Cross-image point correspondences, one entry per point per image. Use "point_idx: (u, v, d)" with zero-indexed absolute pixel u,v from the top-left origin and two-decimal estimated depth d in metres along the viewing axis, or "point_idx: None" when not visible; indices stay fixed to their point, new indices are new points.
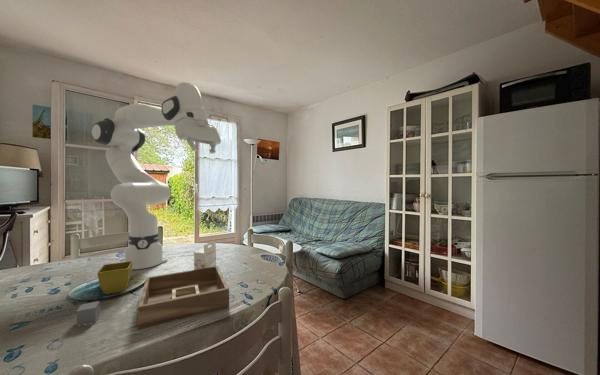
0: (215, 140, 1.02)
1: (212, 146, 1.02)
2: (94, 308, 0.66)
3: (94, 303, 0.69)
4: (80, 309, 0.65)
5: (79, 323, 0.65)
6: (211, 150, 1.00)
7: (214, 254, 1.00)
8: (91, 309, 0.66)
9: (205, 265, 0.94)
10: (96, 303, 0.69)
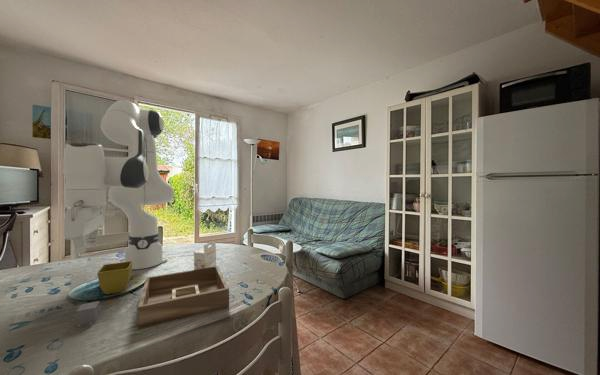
0: None
1: None
2: (94, 308, 0.66)
3: (94, 303, 0.69)
4: (80, 309, 0.65)
5: (79, 323, 0.65)
6: None
7: (214, 254, 1.00)
8: (91, 309, 0.66)
9: (205, 265, 0.94)
10: (96, 303, 0.69)
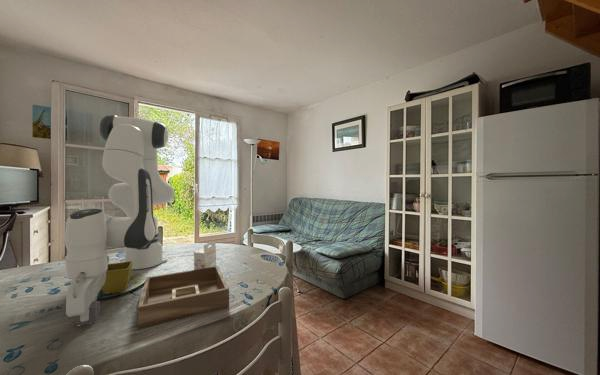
0: None
1: None
2: (94, 308, 0.66)
3: (94, 303, 0.69)
4: None
5: (79, 323, 0.65)
6: None
7: (214, 254, 1.00)
8: (91, 309, 0.66)
9: (205, 265, 0.94)
10: (96, 303, 0.69)
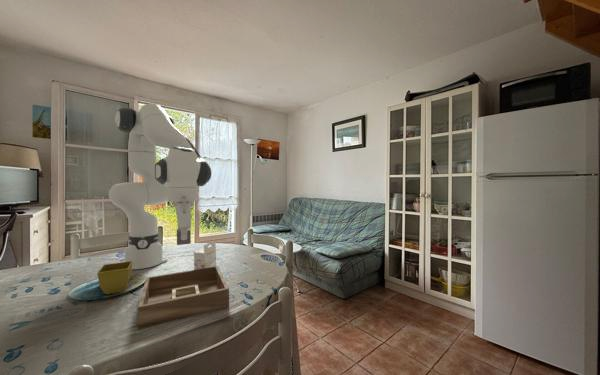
0: (177, 225, 0.72)
1: None
2: (189, 231, 0.77)
3: None
4: (179, 230, 0.76)
5: (178, 242, 0.76)
6: None
7: (214, 254, 1.00)
8: (187, 231, 0.77)
9: (206, 265, 0.94)
10: None
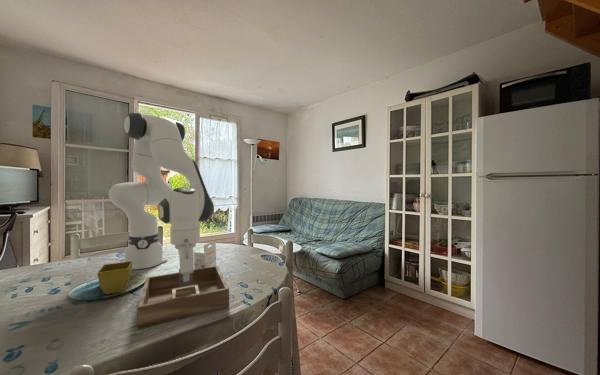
0: None
1: None
2: None
3: None
4: None
5: (181, 283, 0.76)
6: None
7: (214, 254, 1.00)
8: None
9: (206, 265, 0.94)
10: None
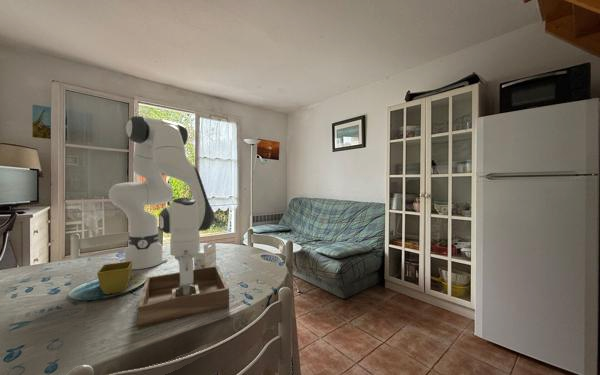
0: None
1: (186, 284, 0.74)
2: (191, 286, 0.78)
3: None
4: (181, 286, 0.77)
5: None
6: None
7: (214, 254, 1.00)
8: None
9: (205, 265, 0.94)
10: None
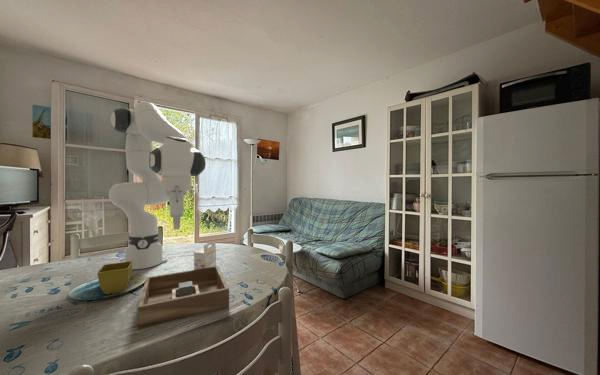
0: None
1: None
2: (191, 286, 0.78)
3: (189, 282, 0.80)
4: (181, 286, 0.77)
5: None
6: None
7: (214, 254, 1.00)
8: (189, 287, 0.78)
9: (205, 265, 0.94)
10: (190, 282, 0.80)
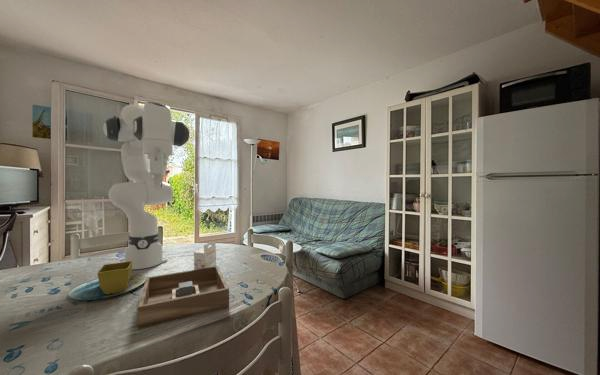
0: None
1: None
2: (191, 286, 0.78)
3: (189, 282, 0.80)
4: (181, 286, 0.77)
5: None
6: None
7: (214, 254, 1.00)
8: (189, 287, 0.78)
9: (205, 265, 0.94)
10: (190, 282, 0.80)
